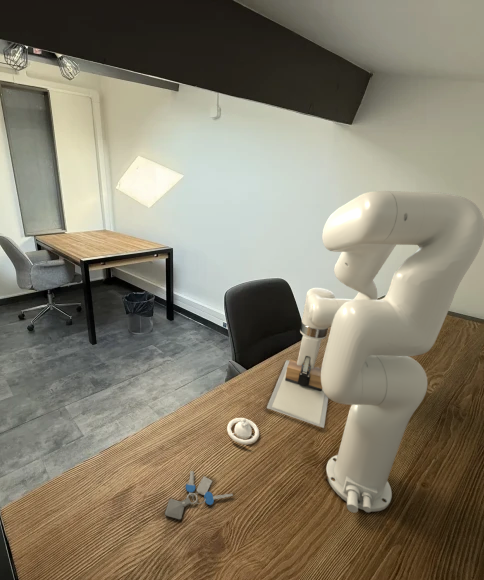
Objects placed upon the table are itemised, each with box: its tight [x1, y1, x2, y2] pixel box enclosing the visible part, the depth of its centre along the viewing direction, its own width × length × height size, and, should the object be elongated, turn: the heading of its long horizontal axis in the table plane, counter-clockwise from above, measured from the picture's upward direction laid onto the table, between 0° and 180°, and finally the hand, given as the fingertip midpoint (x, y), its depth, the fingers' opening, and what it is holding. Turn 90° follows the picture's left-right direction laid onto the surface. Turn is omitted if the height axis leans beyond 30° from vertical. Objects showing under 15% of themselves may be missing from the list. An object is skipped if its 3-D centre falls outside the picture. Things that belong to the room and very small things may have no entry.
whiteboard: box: [266, 359, 329, 429], centre depth 94 cm, size 28×15×1 cm, turn 153°
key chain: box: [164, 470, 234, 520], centre depth 62 cm, size 14×8×1 cm, turn 114°
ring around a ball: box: [226, 417, 260, 446], centre depth 76 cm, size 8×6×8 cm
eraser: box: [285, 359, 322, 391], centre depth 96 cm, size 5×11×5 cm, turn 63°
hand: (304, 379), depth 97 cm, fingers closed on eraser, 5 cm apart
